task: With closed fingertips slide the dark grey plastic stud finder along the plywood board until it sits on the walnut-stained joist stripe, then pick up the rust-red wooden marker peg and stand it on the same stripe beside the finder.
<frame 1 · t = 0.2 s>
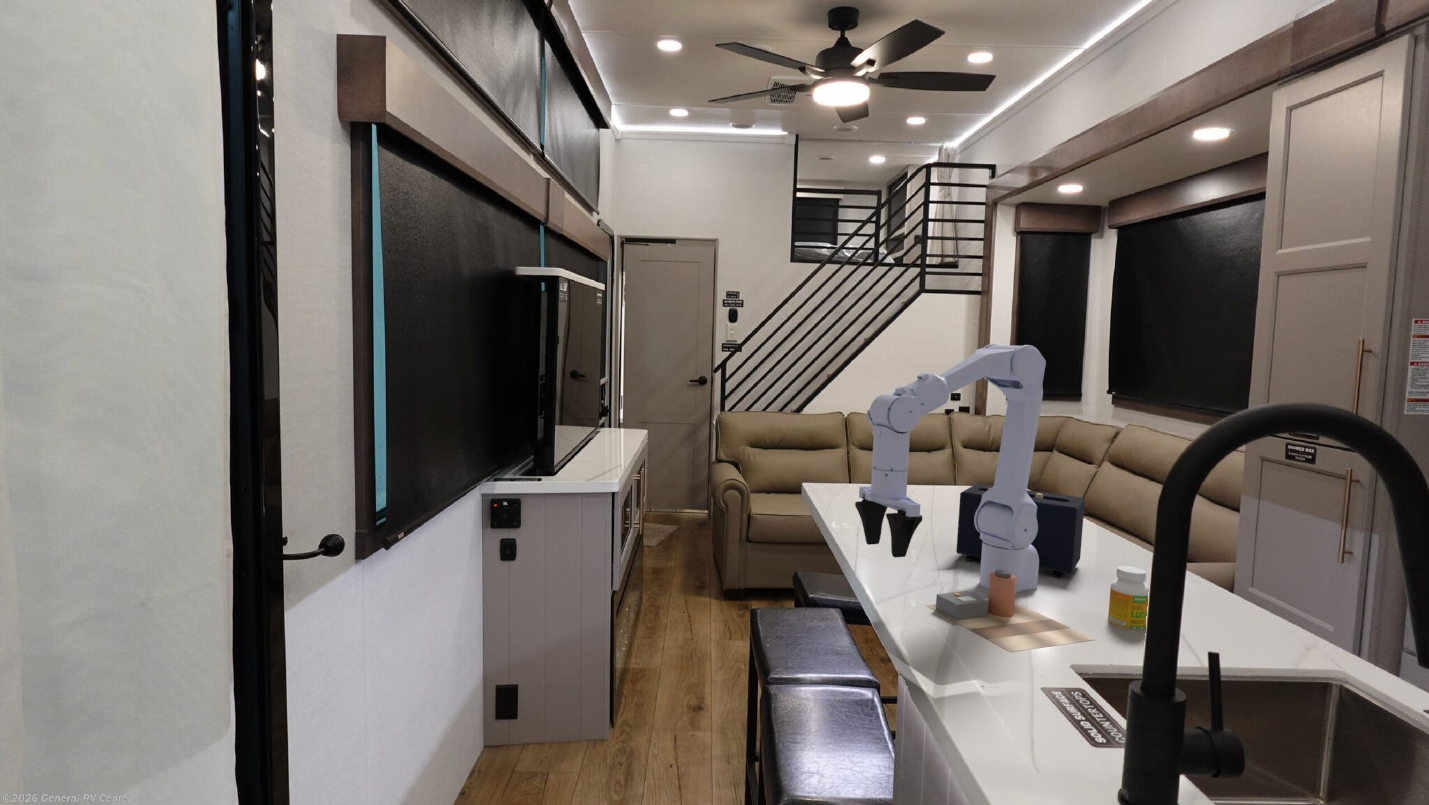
hand: (885, 550, 124), 10 cm above the counter, tool pointing down, fingers open, 7 cm apart
speaker: (1017, 564, 153), on the counter
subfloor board: (1005, 629, 116), on the counter
marker peg: (1000, 612, 120), point 1 cm above the counter, touching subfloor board
supplement bottle: (1126, 631, 118), on the counter
stud finder: (961, 613, 119), point 1 cm above the counter, touching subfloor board
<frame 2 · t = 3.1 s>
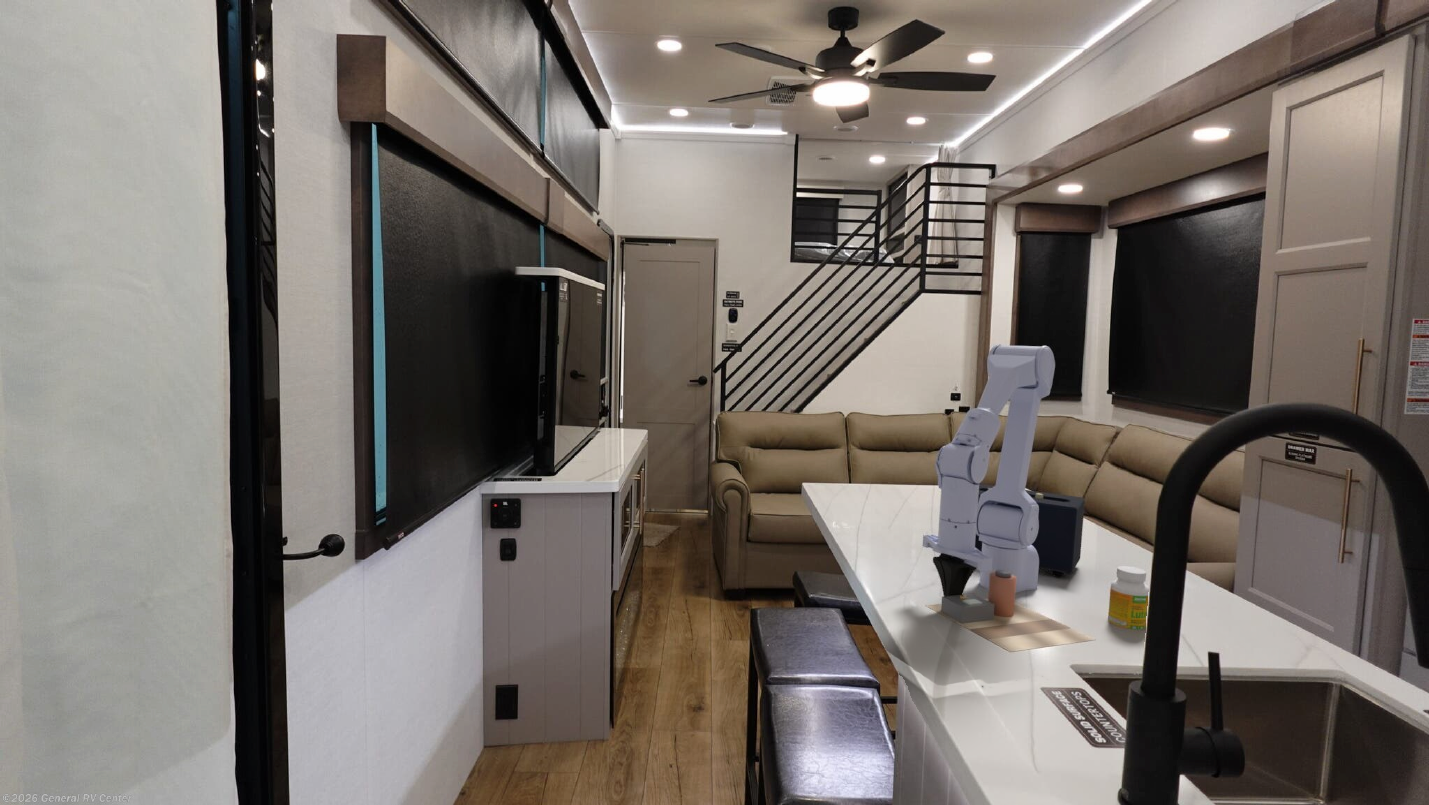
hand: (952, 602, 121), 2 cm above the counter, tool pointing down, fingers closed
stud finder: (966, 616, 118), point 1 cm above the counter, touching gripper, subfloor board
everything else where it was.
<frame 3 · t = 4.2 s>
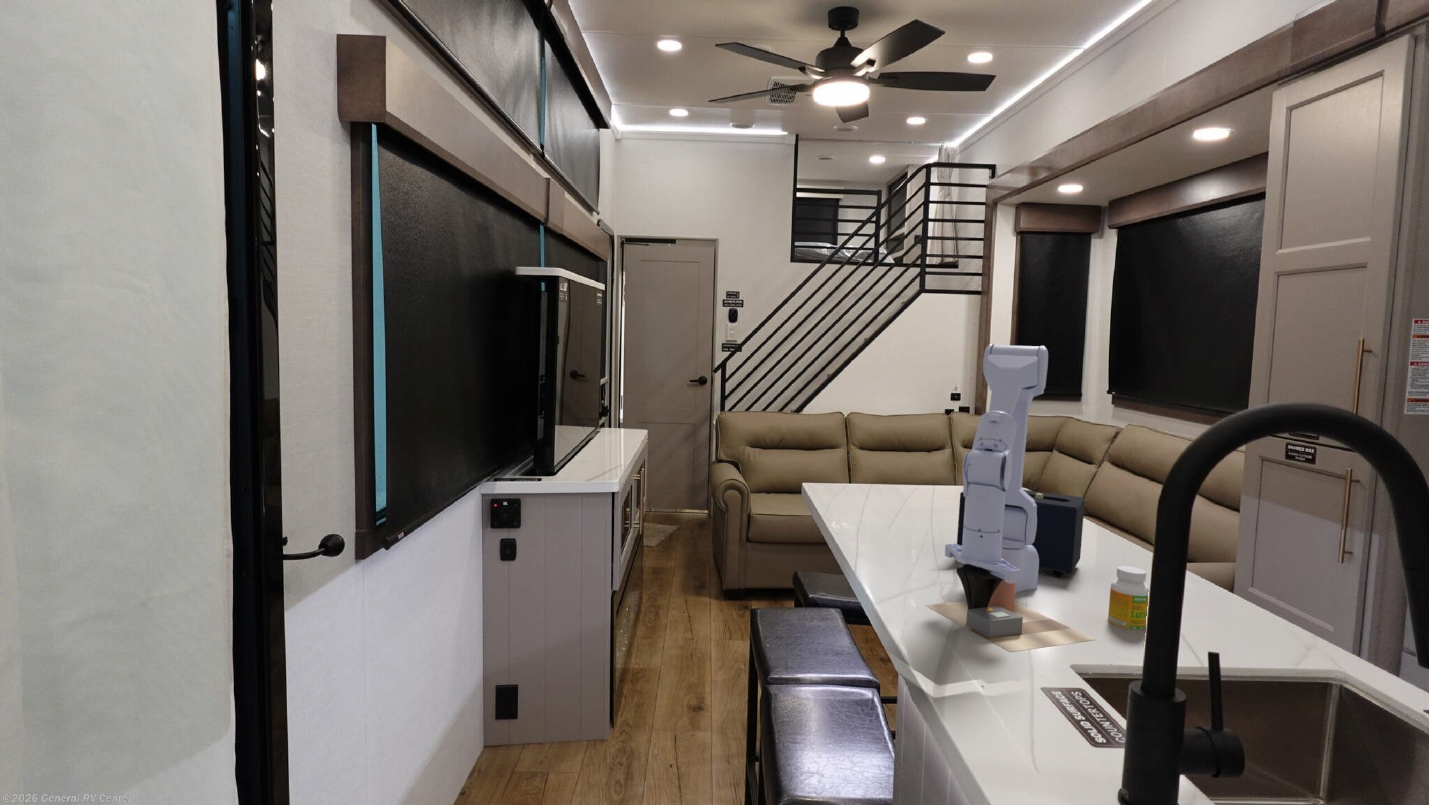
hand: (976, 614, 116), 2 cm above the counter, tool pointing down, fingers closed
stud finder: (993, 629, 113), point 1 cm above the counter, touching gripper
everything else where it was.
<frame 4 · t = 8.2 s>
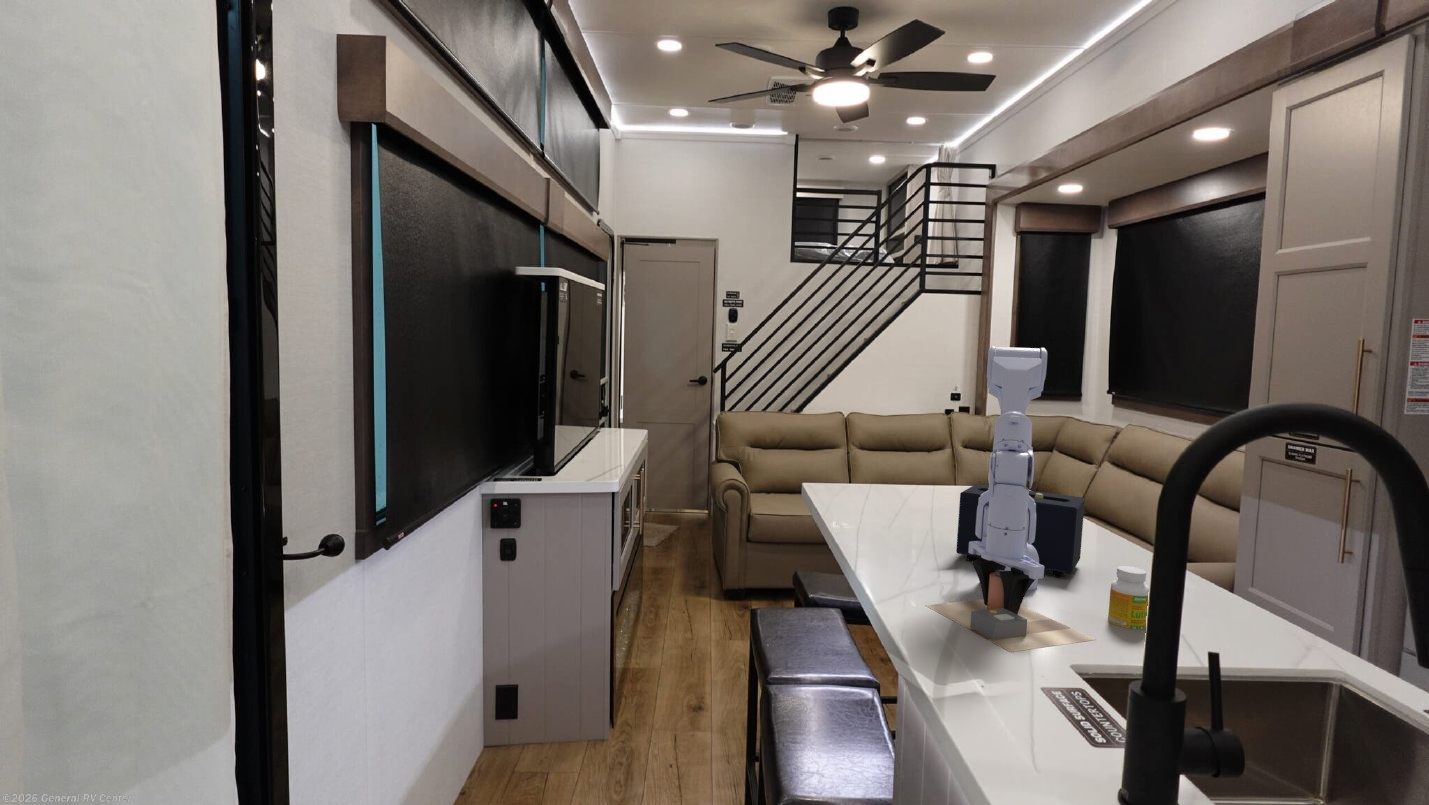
hand: (1000, 609, 120), 2 cm above the counter, tool pointing down, fingers closed on marker peg, 4 cm apart
marker peg: (1000, 612, 120), point 1 cm above the counter, touching gripper, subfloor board
stud finder: (997, 631, 112), point 1 cm above the counter, touching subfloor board
everything else where it was.
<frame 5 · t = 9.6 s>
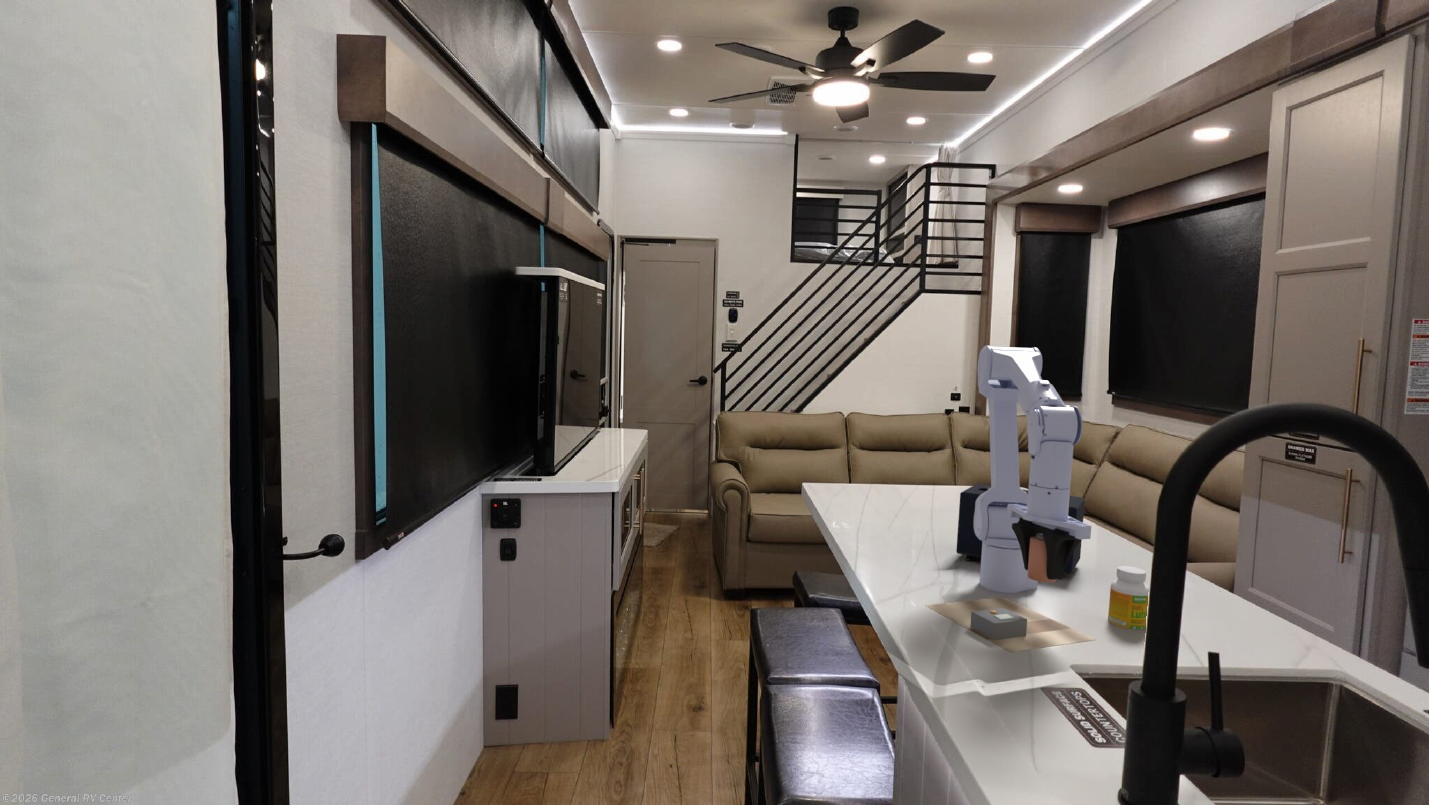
hand: (1042, 574, 114), 9 cm above the counter, tool pointing down, fingers closed on marker peg, 4 cm apart
marker peg: (1041, 578, 114), point 9 cm above the counter, touching gripper
everything else where it was.
when the fingers open (4 cm above the counter, at t = 11.1 s): marker peg drops 2 cm, resting on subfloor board.
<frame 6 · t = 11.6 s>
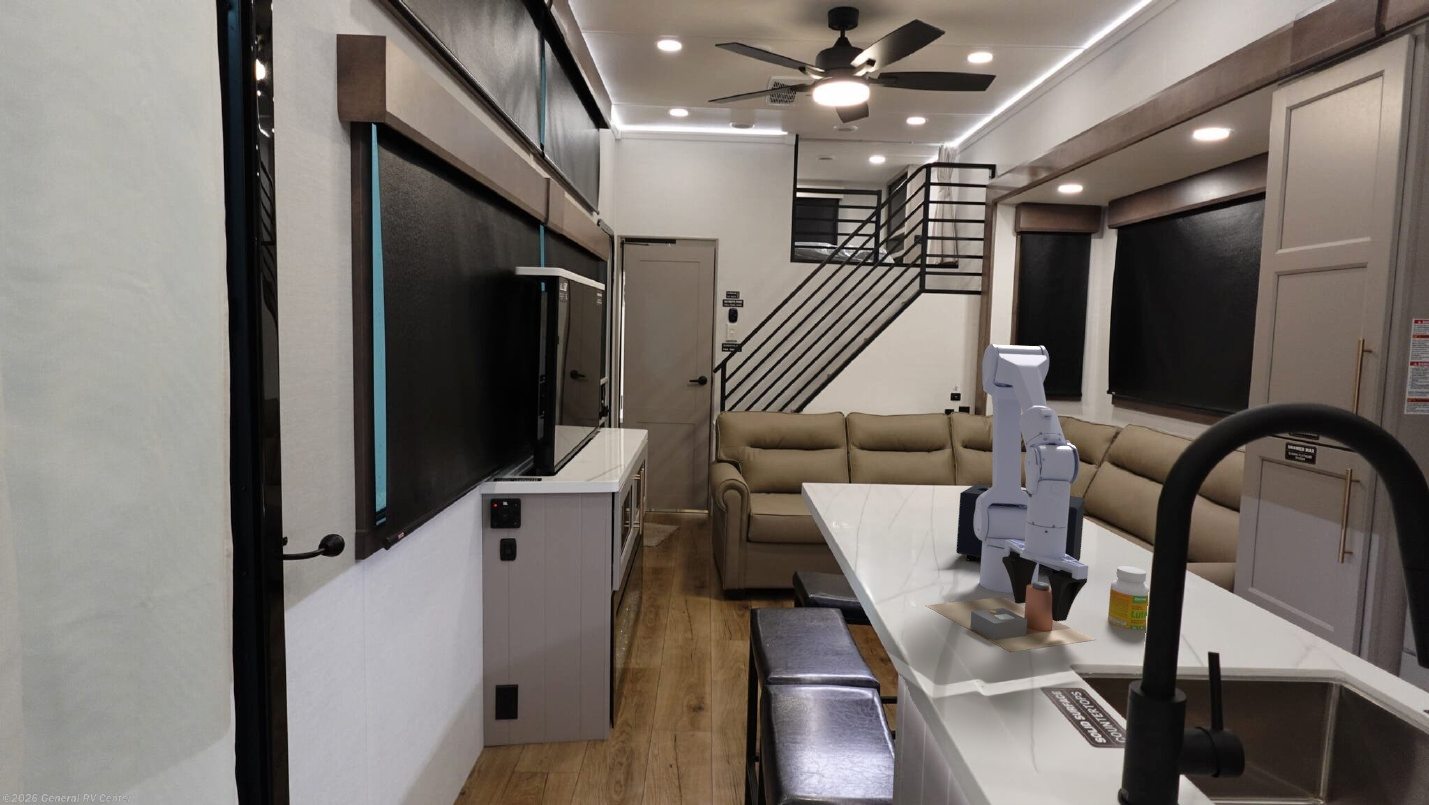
hand: (1039, 611, 115), 4 cm above the counter, tool pointing down, fingers open, 7 cm apart
marker peg: (1037, 626, 115), point 1 cm above the counter, touching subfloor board
everything else where it was.
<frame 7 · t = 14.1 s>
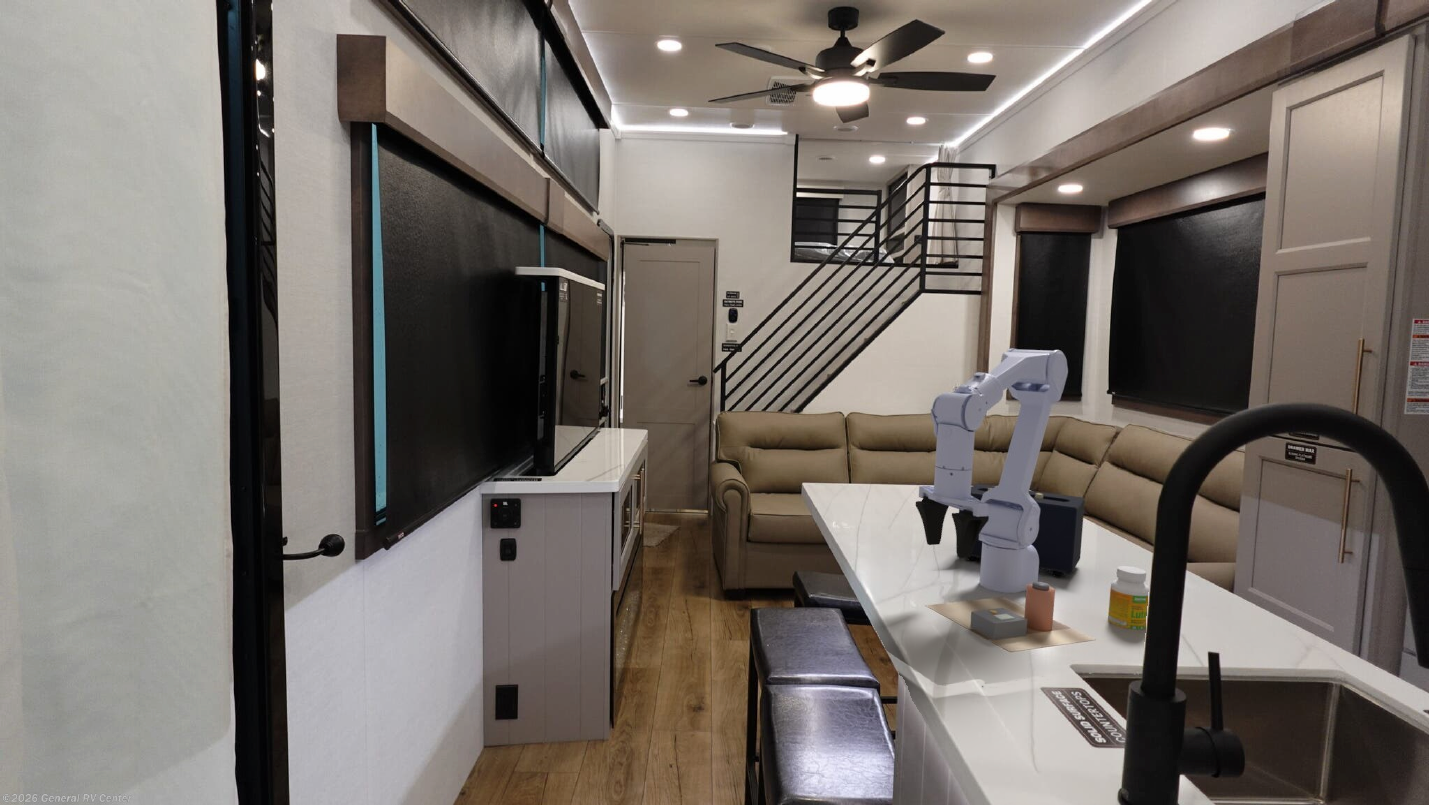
hand: (948, 550, 122), 10 cm above the counter, tool pointing down, fingers open, 7 cm apart
nothing on the counter moved.
at the end: stud finder inside the target area (0.3 cm from its centre), point 1.2 cm above the counter; marker peg inside the target area (0.2 cm from its centre), point 1.2 cm above the counter; marker peg tilted 0° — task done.
